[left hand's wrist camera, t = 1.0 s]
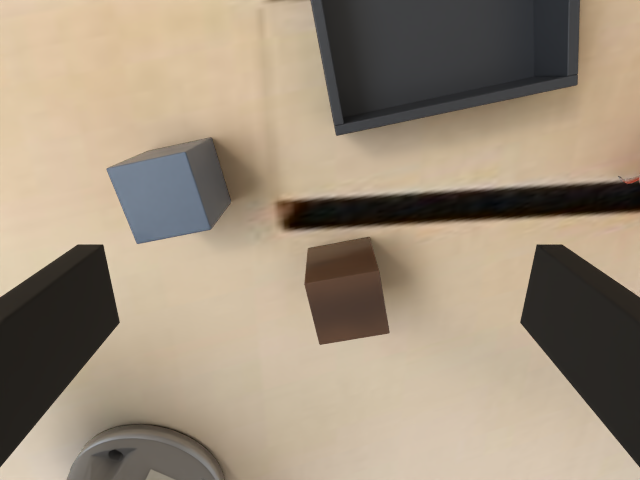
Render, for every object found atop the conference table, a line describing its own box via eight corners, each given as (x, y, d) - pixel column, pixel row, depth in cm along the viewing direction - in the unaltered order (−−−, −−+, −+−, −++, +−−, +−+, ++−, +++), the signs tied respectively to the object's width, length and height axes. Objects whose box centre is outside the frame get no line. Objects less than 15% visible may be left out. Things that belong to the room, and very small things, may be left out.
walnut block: (379, 291, 34) (389, 333, 28) (320, 301, 34) (319, 345, 29) (369, 236, 32) (379, 270, 26) (307, 248, 32) (304, 283, 27)
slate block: (231, 202, 31) (211, 229, 26) (169, 214, 32) (136, 244, 26) (211, 136, 29) (185, 151, 24) (146, 151, 30) (105, 168, 24)
